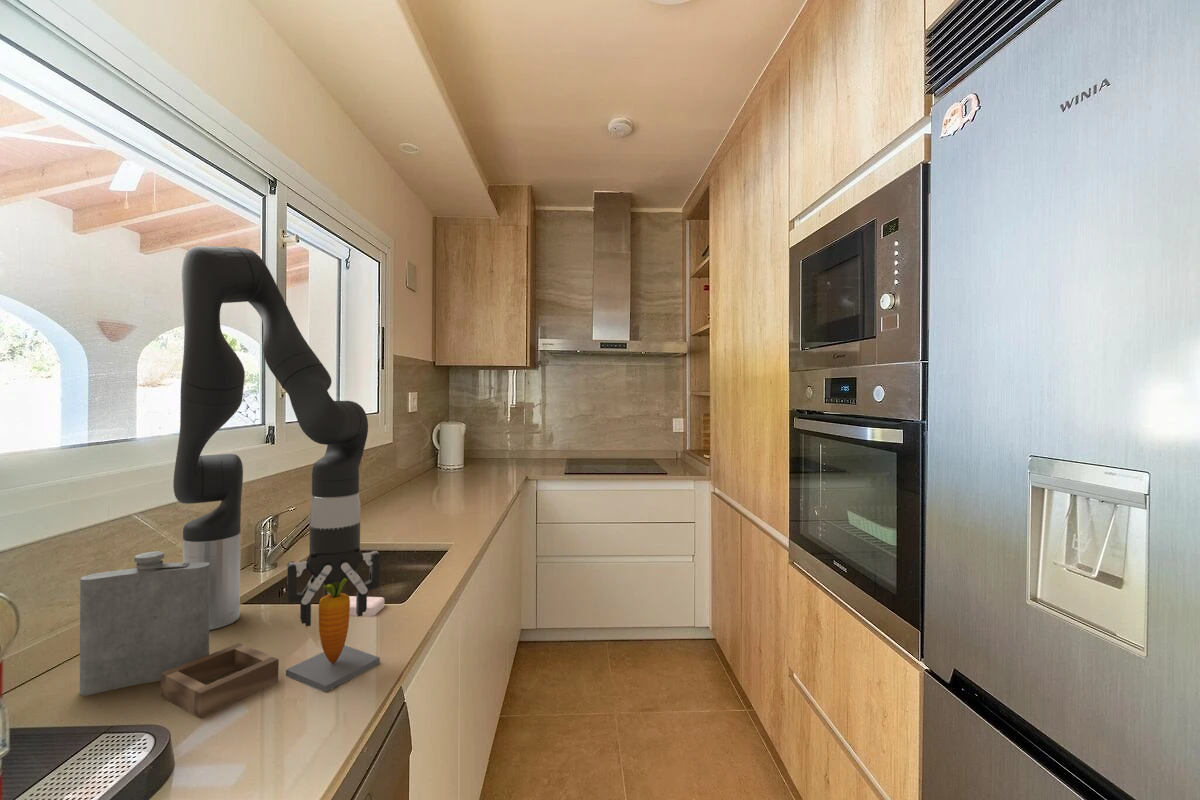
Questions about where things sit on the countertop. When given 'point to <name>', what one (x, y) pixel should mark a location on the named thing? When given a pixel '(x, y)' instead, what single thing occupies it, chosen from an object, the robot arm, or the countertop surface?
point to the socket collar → (204, 699)
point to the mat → (332, 668)
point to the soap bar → (372, 606)
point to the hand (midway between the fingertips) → (334, 619)
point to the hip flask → (142, 622)
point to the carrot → (334, 620)
